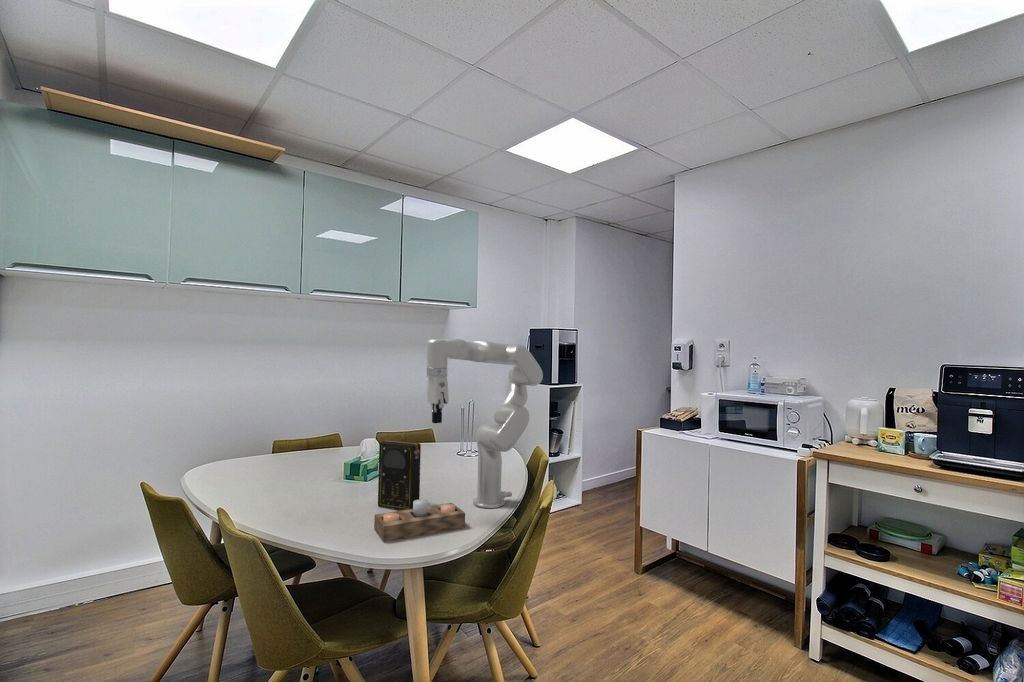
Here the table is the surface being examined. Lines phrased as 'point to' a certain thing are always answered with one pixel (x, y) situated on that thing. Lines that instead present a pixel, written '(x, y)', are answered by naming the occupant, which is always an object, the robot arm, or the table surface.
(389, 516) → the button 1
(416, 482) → the voltmeter
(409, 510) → the wooden candle holder
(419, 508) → the button middle
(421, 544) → the table surface
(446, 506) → the button
